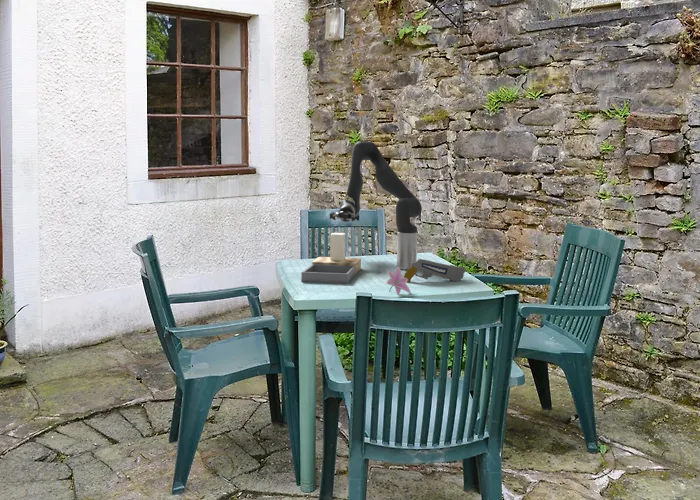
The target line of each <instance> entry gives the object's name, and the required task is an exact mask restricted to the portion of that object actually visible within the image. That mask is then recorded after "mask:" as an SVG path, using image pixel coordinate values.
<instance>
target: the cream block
mask: <svg viewBox="0 0 700 500" xmlns="http://www.w3.org/2000/svg"><path fill="white" fill-rule="evenodd" d="M346 237H347V236H346V233H345V232H332V233H330V239H329V240H330V243H329V244H330V247H329V248H330V250H329V252H330V253H329V254H330V255H329V257H330V260H340V261H343V260H344V259H345V258H346Z"/></svg>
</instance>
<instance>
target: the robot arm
mask: <svg viewBox="0 0 700 500" xmlns="http://www.w3.org/2000/svg"><path fill="white" fill-rule="evenodd" d="M363 161H370V163H371V164H372V165H373V166H374V167H375V171H374V172H375V179H376V181H377V182H378V184H379V185H380V187H381V188H382V189H383V190H384V191H386V193H389V194H390V195H392V196H394V197H395V198H397V199H398V200H397V202H396V205H395V225H396V228H397V237H396V240H397V242H396V246H397V247H396V267H397V266H399V268H400V270H406V271H407V270H408V269H409V268H411V267H412V263H413V262H416V261H417V260H418V226H417V225H415V224H412V222H411V218H417V217H419V216H420V215H421V214H422V213H423V212H422V211H423V207H422V203H421V202H420V199H418V198H417V197H416V196H415V195H414V194H413V193H412V192H411V191H410V189H408V188H407V186H406V185H405V184H404V182H403V181H402V180H401V179H400V177H399V176H398V175H397V173H396V172H395V171H394V170H393V168H392V167H391V166H390V164H389V163H388V162H387V161H386V159H385V158H384V156H383V154H382V153H381V151H380V150H379V147H378V146H377V145H376V144H375V142H373V141H357V142H356V143H355V144H354V145H353V149H352V156H351V168H350V176H349V177H350V178H349V182H348V186H347V189H346V195H347V197H349V198H351V199H352V200H349V199H342V200H341V201H340V204H339V210H338V212H337V211H336V213H335V211H331V212H330V213H329V219H331V220H333V221H336V220H338V221H339V220H341V222H344V223H348V222H350V221H351V222H354V221H360V212H361V211H360V210H361V200H360V199H361V193H362V189H363V186H364V185H363V184H364V181H363V180H364V179H363V176H362V172H361V165H362V162H363Z"/></svg>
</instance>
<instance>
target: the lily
mask: <svg viewBox="0 0 700 500" xmlns="http://www.w3.org/2000/svg"><path fill="white" fill-rule="evenodd" d="M386 272H387V274H388V275H389V277H390V278H388V280H387V281H386V284H387V285H388V286H391V287H390V289H389V290H388V292H390V291H391V289H392V288H393V287H394V288H395V292H396V294H397V296H399V295H400V293H401V291H405V292H406V293H409V294H411V293H412V292H411V289H410V287H409V286H408V284H407V283H408V282H407V281H408V279H407V278H405V277H404V276H403V272H402V269H400V268H399V266H397V265H396V269H395V270H394V272H393V271H390V270H387V269H386Z"/></svg>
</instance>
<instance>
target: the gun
mask: <svg viewBox="0 0 700 500" xmlns="http://www.w3.org/2000/svg"><path fill="white" fill-rule="evenodd" d="M466 270H467V268H465V267H463V266H457V265H453V264H450V265H449V264H444V263H441V262H437V261H432V260H428V259H423V258H417V261H416V262H413V263H412V267H411V268H409V269H408V270H406V271H405V273H404V275H403V277H405V278H407V279H408V281H407V282H406V283H410V282H411V280H412V279H413V277H414V276H416V277H419V278H420V279H421V278H422V279H424V280H428V278H432V277H433V276H436V277H440V278H443V279H448V280H450V281H452V282H458V281H461V280H462V279H463V278H464V276H465V274H466ZM418 271H420V272H421V275H419V274H418V273H417V272H418Z"/></svg>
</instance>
